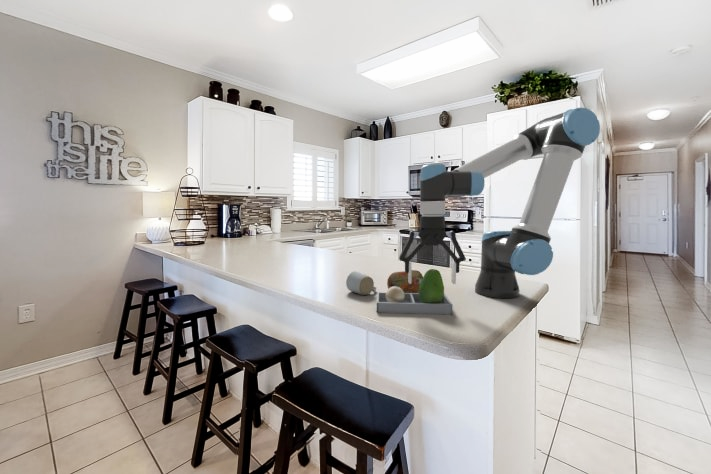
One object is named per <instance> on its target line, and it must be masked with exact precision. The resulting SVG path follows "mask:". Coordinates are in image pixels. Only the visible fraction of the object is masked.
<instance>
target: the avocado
mask: <svg viewBox="0 0 711 474" xmlns="http://www.w3.org/2000/svg"><path fill="white" fill-rule="evenodd" d="M418 293H419V296H420V299H421V301H422V303H430V304H440V303H441V301H442V299H443V296H444V294H445V285H444V281H443V277H442V274H441V272H440V271H439V270H438V269H436V268H431V269H428V270H427V271H426V272H425V273H424V275H423V279H422V280H421V283H420V285H419V291H418Z"/></svg>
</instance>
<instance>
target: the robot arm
mask: <svg viewBox="0 0 711 474" xmlns="http://www.w3.org/2000/svg"><path fill="white" fill-rule="evenodd" d="M600 131H601V124H600V120H599V119H598V117H597V115H596V114H595V112H593V110H591V109H589V108H587V107H576V108H571V109H567V110H566V111H565V112H561V113H558V114H556V115H552V116H549V117H547V118H544V119H542V120H540V121H538V122H536V123H535V124H533V125H531V126H530V127H528V128H526V129H525V130H523V131H521V132H519V133H517V134H516V135H514V136H513V138H512V140H510V141H508V142H506V143H504V144H501V145H500V146H498V147H496V148H494V149H492V150H490V151H488V152H486V153H485V154H483V155H480V156H478V157H476V158H474V159H472V160H471V161H469V162H468V161H467V163H465V164H462V165H460V166H459V167H456V168H454V169H453V170H451V171H449V170H447V168H446V165H445V164H441V163H431V164H425V165H422V167H421V168H420V174H419V175H420V177H419V186H420V187H419V189H420V190H419V194H420V200H419V203H420V205H419V207H420V208H419V209H420V210H419V215H421V216H420V217H419V231H413V230H410V231H409V234H408V239H407V241H406V243H405V245H404V247H403V249H402V251H401V253H400V255H399V261H400V262H404V271H405V272H406V273H408V282H409V284H411V271H412V270H413V269H412V262H411V261H412V259H413V258H414V257H415V256H416V255H417V253H418V252H419V251H420V250H421V249H422V248H423V247H424V246H425V245H426V246H427V247H430V246H439V245H440V246H441V247H442V248H443V249H444V250H445V251H446V253H447V254H448V255H449V257H451V259H452V260H453V261H451V275H450V276H451V278H450V279H451V283H452V284H453V285H456V283H457V274H458V273H460V264H461V262H465V261H466V260H467V258H466V256H465V254H464V252H463V250H462V248H461V246H460V244H459V242H458V240H457V236H456V232H455V231H454V230H450V231H446V229H445V228H446V217H445V216H444V215H445V214H446V197H473V196H480V195H481V194H482V193H483V191H484V188H485V178H488V177H490V176H491V175H493V174H495V173H498V172H499V171H501V170H503V169H505V168H507V167H509V166H511V165H513V164H515V163H517V162H518V161H521V160H524V161H525V160H527V161H528V160H530V159H531V158H533V157H536V156H539V155H543V158H542V161H541V163H540V166H539V169H538V172H537V174H536V178H535V180H534V183H533V185H532V189H531V191H530V194H529V197H528V199H527V202H526V204H525V208H523V209H524V210H523V212H522V216H521V218H520V220H519V223H518V224H517V225H515V226H513V227H512V228H511V230H498V231H497V230H496V231H495V230H494V231H486V232H483V234H482V237H481V257H480V261H481V262H480V272H479V274H478V277H477V278H476V279H477V280H476V283H475V285H474V286H475V287H474V291H475V293H476V294H479V295H480V296H484V297H490V298H495V299H514V298H518V297H519V296H520V286H519V284H518V280H517V276H516V273H518V274H521V275H527V276H536V275H539V274H540V273H542V272H545V271H546V270H547V269H548V268H549V266H551V263H552V262H553V260H554V259H553V258H554V251H553V250H552V249H553V247H552V246H551V244H550V243H551V240H552V237H551V236H550V234H549V229H550V226H551V224H552V222H553V219H554V217H555V216H554V215H555V213H556V211H557V208H558V205H559V202H560V200H561V198H562V197H561V196H562V194H563V191H564V188H565V186H566V183H567V180H568V178H569V175H570V172H571V169H572V167H573V164H574V162H575V161H576V160H578V159H580V158H582V156H583V154H584V151H585V148H586V146H588V145H591V144H592V143H594V142H595V141H596V140H597V139H598V137H599V135H600V133H601V132H600ZM417 237H419V238H420V240H419V241H418V243H417V244H416V245H415V247H414V248H413V249H412V250H411V251H410V252H409V250H410V247H411V246H412V243H413V242H414V239H416V238H417ZM446 237H447V238H448V239H450V241H451V242H452V245H453V247H454V249H455V251H456V253H457V255H458V257H457V255H456V254H455V252H453V250H452V249H451V248H450V247H449V246H448V244H447V243H446V242H445V241H444V239H445V238H446ZM408 252H409V254H408V255H407V253H408ZM406 255H407V256H406Z"/></svg>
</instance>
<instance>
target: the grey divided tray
mask: <svg viewBox="0 0 711 474" xmlns="http://www.w3.org/2000/svg"><path fill="white" fill-rule="evenodd" d="M404 295H405V297H404V300H403V302H402V303H393V302H388V301H387V300H386V292H381V291H380V292H379V291H378V292H376V313H390V314H391V313H395V314H421V315H422V314H423V315H427V314H428V315H453V303H452V302H451V301H450V299H449V298H448V296H447V294H446V293H444V296H443V299H442V301H441V303H440V304H430V303H422V301H421V299H420V296H419V292H416V293H404Z"/></svg>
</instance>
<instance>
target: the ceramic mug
mask: <svg viewBox="0 0 711 474" xmlns="http://www.w3.org/2000/svg"><path fill="white" fill-rule="evenodd" d="M345 282H346V283H345V285H346V288H347V290H348V291H350V292H352V293H356V294H357V295H361V296H367V295H369V294H371V293H372V292H376V290H377V287H376V286H374V285H375V284H374V283H375V282H374V279H373V278H372V277H371V276H369V275H367V274H365V273H362V272H359V271H357V270H355V271H351V272H350V273H349V275H348V276H347V277H346V281H345Z"/></svg>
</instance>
